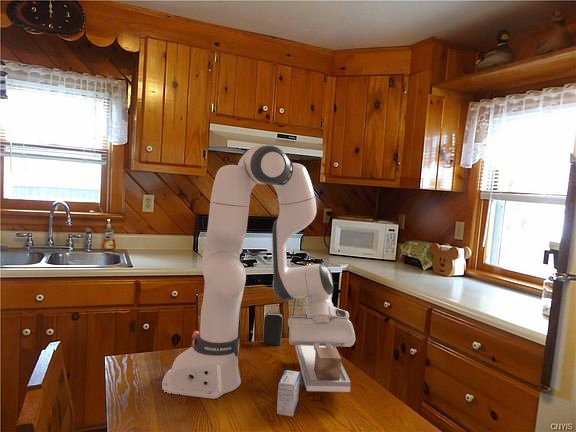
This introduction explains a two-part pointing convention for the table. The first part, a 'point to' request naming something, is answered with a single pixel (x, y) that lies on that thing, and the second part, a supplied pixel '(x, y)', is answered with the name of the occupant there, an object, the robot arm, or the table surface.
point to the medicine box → (288, 393)
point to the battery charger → (272, 328)
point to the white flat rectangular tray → (312, 384)
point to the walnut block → (327, 364)
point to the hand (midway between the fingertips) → (323, 359)
